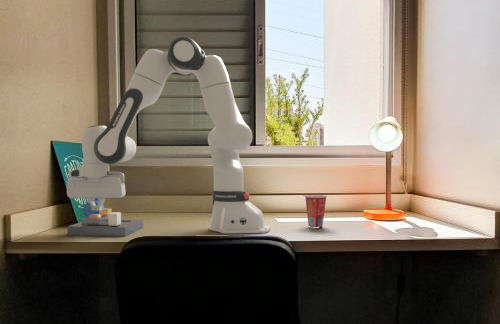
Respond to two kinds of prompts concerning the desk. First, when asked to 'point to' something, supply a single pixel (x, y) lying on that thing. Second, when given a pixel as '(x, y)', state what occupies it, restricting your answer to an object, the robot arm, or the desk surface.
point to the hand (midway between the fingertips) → (96, 210)
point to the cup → (315, 209)
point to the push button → (95, 216)
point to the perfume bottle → (88, 208)
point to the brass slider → (105, 211)
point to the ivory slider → (114, 218)
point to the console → (104, 227)
